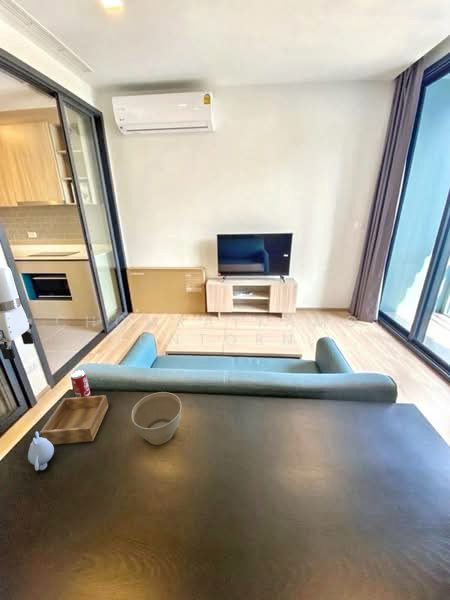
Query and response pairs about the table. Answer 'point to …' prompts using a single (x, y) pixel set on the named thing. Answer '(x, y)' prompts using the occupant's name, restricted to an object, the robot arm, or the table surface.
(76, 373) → the soda can
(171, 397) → the planter bowl
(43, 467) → the toy figure
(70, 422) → the wooden tray
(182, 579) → the table surface
